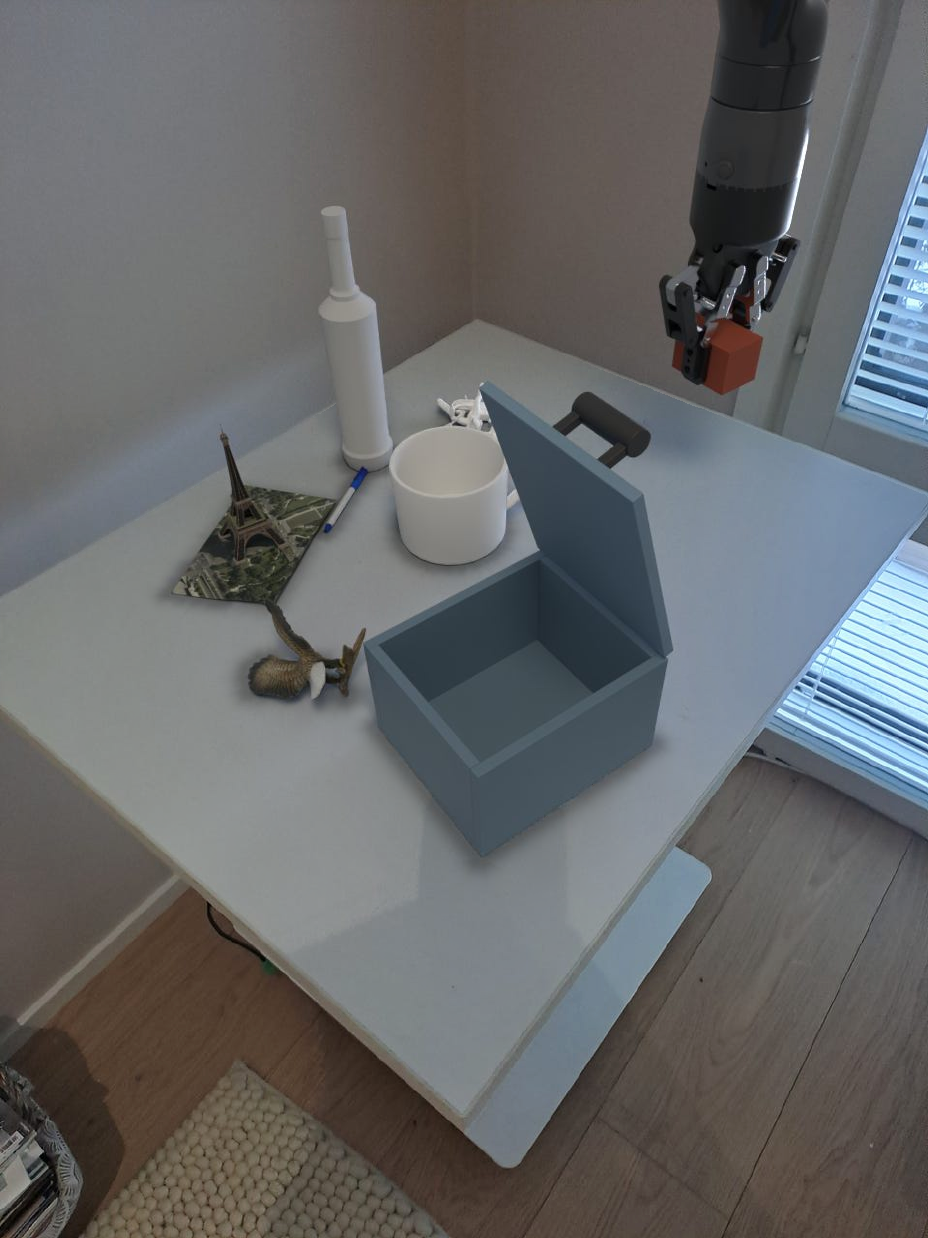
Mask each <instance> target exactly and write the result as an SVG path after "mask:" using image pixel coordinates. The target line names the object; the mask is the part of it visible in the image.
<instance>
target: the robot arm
mask: <svg viewBox="0 0 928 1238" xmlns="http://www.w3.org/2000/svg"><path fill="white" fill-rule="evenodd" d="M716 2H717V11H718V18H719V19H718V21H719V32H718V37H717V41H716V48H715V56H714V63H713V70H712V77H711V82H710V83H711V84H710V90H709V92H710V93H709V97H708V101H707V102H708V103H707V106H706V111H705V114H704V118H703V121H702V126H701V130H700V136H699V144H698V151H697V159H696V166H695V173H694V180H693V181H694V182H693V188H692V195H691V201H690V202H691V203H690V210H689V218H688V219H689V220H688V221H689V225H690V228H691V230H692V233H693V235H694V236H693V237H694V246H693V248H692V250H691V253H690V255H689V257H688V261H687V267H686V268H685V269H683V270H682V271H680V272H679V274H677V275H676V276H675V277H674V276H672V275H670V274H665V275H663V276H662V277H661V278H660V280H659V281H658V289H659V296H660V302H661V308H662V309H661V310H662V315H663V319H664V320H663V321H664V328H665V333H666V337H669V338H670V339H672V340H674V341H675V340H677V341H678V342H680V343H682V344H684V352H683V358H682V359H683V360H682V365H681V372H680V373H681V375H682V376H683V379H686V380H687V381H689V382H691V383H692V384H694V385H696V386H700V385H702V383H704V382H706V379H707V373H708V368H709V362H710V356H711V350H712V345H711V342H712V340H713V337H714V334H715V332H716V329H717V326H718V323H719V321H720V320H724V319H725V318H727V315H729V316H730V317H729V318H728V319H729V320H730V321H732V322H734V323H736V324H738V325H740V326H742V327H744V328H746V329H748V330H750V331H752V332H753V329H754V327H755V326H756V325H757V324H758V323H759V321H760V319H761V315H762V314H763V313H764V312H766V313H771V312H772V311H774V309H775V308H776V305H777V303H778V300H779V298H780V296H781V293H782V292H783V289H784V287H785V284H786V282H787V280H788V277H789V274H790V272H791V270H792V267H793V265H794V263H795V261H796V258H797V256H798V253H799V251H800V248H801V245H802V241H801V240H800V239H798V238H796V237H794V236H791V235H788V234H786V233H787V232H788V231H789V229H790V227H791V223H792V218H793V213H794V208H795V205H796V199H797V195H798V191H799V186H800V181H801V178H802V172H803V167H804V163H805V158H806V153H807V148H808V144H809V140H810V134H811V129H812V128H811V126H812V114H813V105H814V100H815V95H816V90H817V84H818V80H819V76H820V71H821V66H822V61H823V57H824V53H825V47H826V43H827V37H828V32H829V31H828V30H829V24H830V12H829V6H828V4H827V2H826V1H825V0H716ZM766 279H767V280H769V281H770V285H769V288H768V290H767V293H766ZM704 298H705V299H707V300H710V301H712V302H713V303H715V304H712V303H710V302H708V301H706V300H705V299H704ZM700 315H702V316H704V317H705V323H704V325H703V328H700V327H698V326H697V324H698V321H699V318H700Z"/></svg>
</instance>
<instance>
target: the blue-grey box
mask: <svg viewBox="0 0 928 1238" xmlns="http://www.w3.org/2000/svg"><path fill="white" fill-rule="evenodd" d="M362 646H363V651H364V656H365V663H366V667H367V672H368V678H369V684H370V689H371V693H372V694H371V695H372V699H373V705H374V710H375V715H376V716H375V717H376V721H377V726H378V728H379V730H380V731H381V733H382V734H383V735H384V736H385V738H386V739H387V740H388V741H389V743H390V744H391V746H393V748H394V750H396V752H397V753H398V754H399V755H400V756H401V758H402V759H403V760H404V761H405V764H407V765H408V766H409V767H410V769H411V770H412V772H413V773H414V774H415V775H416V777H417V778H418V779H419V780H420V781H421V783H422V784H423V785H424V787H425V788H426V790H427V791H428V792H429V793H430V795H432V797H433V798H434V799H435V800H436V802H437V803H438V804H439V805H440V807H441V808H442V810H443V811H444V812H445V813H446V814H447V816H448V817H449V818H450V819H451V821H452V822H453V823H454V824H455V826H456V827H457V829H458V830H459V831H460V832H461V833H462V835H463V836H464V837H465V838H466V839H467V841H468V842H469V843H470V845H471V846H472V847H473V848H474V849H475V851H476V853H477V854H478V855H479V856H480V857H481V858H484V857H485V856H487V855H489V854H490V853H491V852H493V851H494V850H496V849H497V848H499V847H501V846H502V845H503V844H505V843H506V842H508V841H509V840H511V839H512V838H514V837H515V836H517V835H518V834H520V833H521V832H523V831H524V830H526V829H527V828H529V827H531V826H532V825H534V824H536V822H538V821H539V820H541V819H542V818H544V817H546V816H547V815H549V814H551V813H552V812H553V811H555V810H556V809H557V808H559V807H561V806H562V805H563V804H565V803H567V802H568V801H569V800H571V799H573V798H574V797H576V796H577V795H579V794H580V793H582V792H583V791H584V790H587V789H588V788H589V787H591V786H592V785H594V784H595V783H597V782H598V781H600V780H602V779H603V778H604V777H606V776H607V775H609V774H610V773H612V772H613V771H615V770H616V769H618V768H620V767H621V766H622V765H624V764H626V763H627V762H628V761H630V760H631V759H633V758H635V757H636V756H638V755H639V754H640V753H642V752H643V751H645V750H647V749H648V748H649V747H651V746H653V744H654V743H653V742H654V737H655V732H656V726H657V721H658V716H659V710H660V705H661V700H662V694H663V690H664V684H665V679H666V673H667V668H668V665H669V664H668V663H669V658H668V656H666V657H664V656H663V655H661V654H660V653H659V652H658V651H657V650H656V649H655V648H653V647H652V646H651V645H650V644H649V643H648V642H646V641H645V640H644V639H643V638H642V637H641V636H639V635H638V634H637V633H636V632H635V631H634V630H633V629H631V628H630V627H629V626H628V625H627V624H626V623H624V622H623V621H622V620H621V619H620V618H619V617H617V616H616V615H615V614H614V613H613V612H612V611H610V610H609V609H608V608H607V607H606V606H605V605H604V604H602V603H601V602H600V601H599V600H598V599H597V598H595V597H594V596H593V595H592V594H591V593H590V592H588V591H587V590H586V589H585V588H584V587H583V586H582V585H580V584H579V583H578V582H577V581H576V580H575V579H573V578H572V577H571V576H570V575H569V574H568V573H566V572H565V571H564V570H563V569H562V568H561V567H559V566H558V565H557V564H556V563H555V562H554V561H553V560H551V559H550V558H549V557H548V556H547V555H546V554H544V553H543V552H542V551H541V550H540V549H539V550H537V551H535V552H533V553H532V554H529V555H528V556H526V557H524V558H522V559H520V560H518V561H516V562H515V563H513V564H510V565H508V566H507V567H504V568H503V569H501V570H499V571H497V572H496V573H494V574H491V575H490V576H488V577H486V578H484V579H482V580H480V581H478V582H476V583H474V584H472V585H470V586H469V587H467V588H465V589H462V590H461V591H458V592H457V593H455V594H453V595H451V596H449V597H448V598H446V599H444V600H442V601H439V602H438V603H436V604H433V605H432V606H430V607H429V608H426V609H425V610H423V611H421V612H419V613H417V614H415V615H413V616H411V617H410V618H408V619H405V620H404V621H402V622H400V623H398V624H396V625H394V626H392V627H390V628H388V629H387V630H384V631H383V632H381V633H378V634H377V635H375V636H373V637H371V638H369V639H367V640H366V641H363V642H362Z"/></svg>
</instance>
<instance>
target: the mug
mask: <svg viewBox="0 0 928 1238" xmlns="http://www.w3.org/2000/svg"><path fill="white" fill-rule="evenodd" d="M486 432H487V431H483V430H482V429H481V430H477V429H474V428H470V427H466V426H463V425H461V426H460V425H452V426H445V425H443V426H436V427H431V428H426V429H424V430H421V431H418V432H416V433H412V434H411V435H409V436H408V437H406V438H405V439H404V440H402V441H401V442H400V443H399V444H398V445H397V446H396V447H395V448H393V454H392V456H391V458H390V460H389V464H388V472H389V478H390V484H391V489H392V495H393V501H394V507H395V512H396V517H397V522H398V528H399V534H400V538H401V540H402V543H403V546H405V548H407V550H408V551H409V552H410V553H411V554H413V555H414V556H416V557H417V558H418V559H420V560H423V561H426V562H429V563H431V564H437V565H442V566H443V565H444V566H455V565H456V566H458V565H464V564H469V563H473V562H476V561H478V560H480V559H483V558H485V557H487V556H488V555H490V554H491V553H493V552H494V551H495V550H496V549H497V548H498V547H499V545H500V544H501V543H502V542H503V540H504V538H505V534H506V532H507V531H506V530H507V529H506V526H507V510H509V509H511V508H512V507H514V506H515V505H516V504H517V502H519V501H520V498H519V496H518V493H517V490H516V488H514V489H513V491H511V492H510V493H509V494H508V489H509V469H508V466H507V463H506V460H505V458H504V455H503V452H502V450H501V447H500V444H499V441H498V440H497V439H496V438H495V437H493V436H491V435H489V434H487V433H486Z"/></svg>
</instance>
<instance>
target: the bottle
mask: <svg viewBox="0 0 928 1238" xmlns="http://www.w3.org/2000/svg"><path fill="white" fill-rule="evenodd" d="M320 217H321V224H322V229H323V235H324V239H325V245H326V251H327V257H328V259H327V260H328V265H329V269H330V270H329V271H330V277H331V278H330V279H331V284H332V286H331V287H330V289H329V295H328V296H327V297H326V298H325V300H324V301H323V302H322V303H321V304H320V305H319V306H318V317H319V322H320V327H321V332H322V336H323V343H324V347H325V352H326V357H327V362H328V369H329V373H330V380H331V383H332V389H333V395H334V399H335V404H336V409H337V415H338V419H339V424H340V429H341V436H342V444H341V450H342V455H343V458H344V461H346V463H347V465H348V466H349V467H350V468H351V469H353V470H355V471H358V472H359V470H360V469H361V467H362V466H363V467H364V468H365V469H367V470H368V472H376V471H379V470H381V469H384V468H385V467H386V466H389V460H390V458H391V456H392V454H393V452H394V443H393V437H392V436H391V435H390V431H389V423H388V421H389V420H388V413H387V412H388V411H387V403H386V402H387V401H386V392H385V383H384V382H385V381H384V371H383V364H382V354H381V353H382V351H381V343H380V334H379V324H378V323H379V321H378V314H377V312H378V311H377V303H376V301H375V300H374V299H373V298H372V297H370V296H369V295H367V294H365V293H364V292H362V291H361V288H360V286H359V285H358V284H356V281H355V273H354V267H353V260H352V254H351V253H352V251H351V245H350V240H349V227H348V226H349V225H348V219H347V212H346V208H345V207H343V206H339V205H330V206H327V207H326V206H325V207H324V208H322V209H321V210H320ZM368 472H367V473H368Z"/></svg>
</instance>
